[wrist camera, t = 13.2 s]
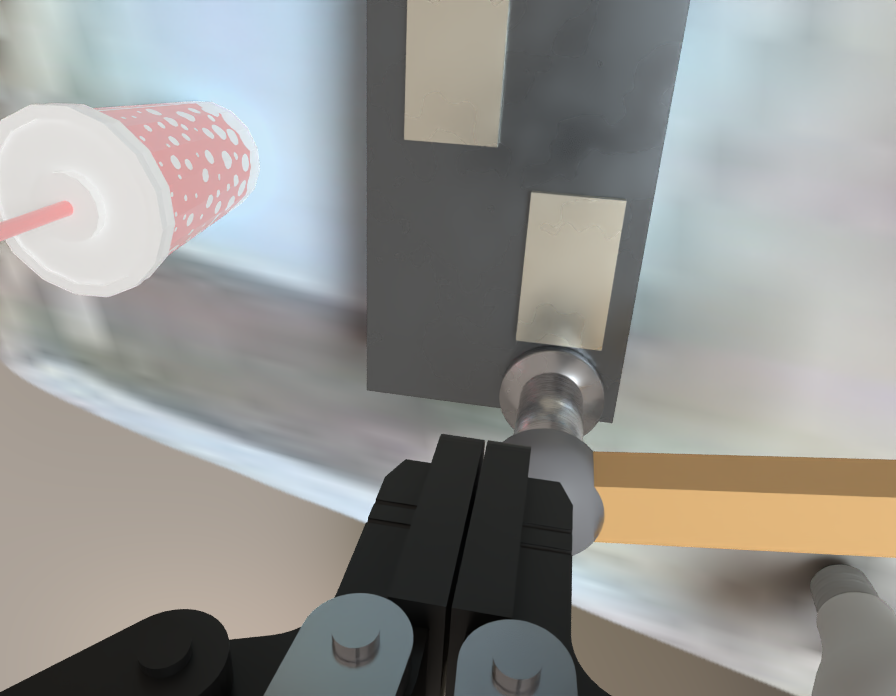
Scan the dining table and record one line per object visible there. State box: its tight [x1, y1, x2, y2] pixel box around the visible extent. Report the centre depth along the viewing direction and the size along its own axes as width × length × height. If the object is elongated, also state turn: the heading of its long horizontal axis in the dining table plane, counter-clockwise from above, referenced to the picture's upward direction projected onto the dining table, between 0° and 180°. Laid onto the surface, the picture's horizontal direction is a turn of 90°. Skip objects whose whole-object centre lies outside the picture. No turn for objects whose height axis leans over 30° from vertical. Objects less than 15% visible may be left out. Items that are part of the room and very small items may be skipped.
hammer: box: [503, 428, 896, 558], centre depth 20 cm, size 15×4×2 cm, turn 95°
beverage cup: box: [0, 101, 260, 297], centre depth 23 cm, size 6×6×14 cm
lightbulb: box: [810, 565, 896, 696], centre depth 28 cm, size 6×6×11 cm
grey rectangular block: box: [367, 0, 690, 441], centre depth 23 cm, size 19×10×9 cm, turn 177°
